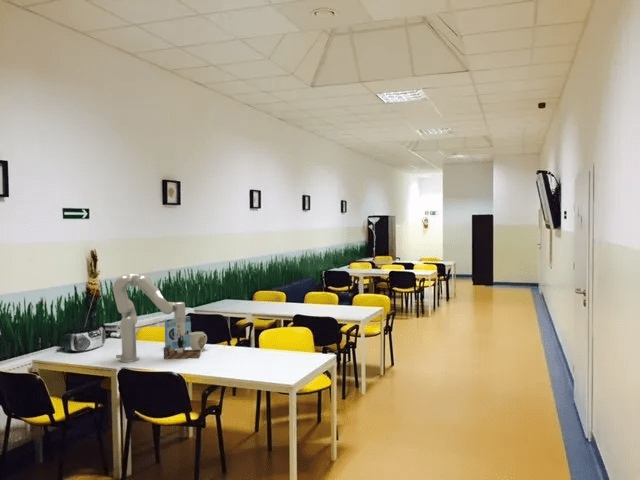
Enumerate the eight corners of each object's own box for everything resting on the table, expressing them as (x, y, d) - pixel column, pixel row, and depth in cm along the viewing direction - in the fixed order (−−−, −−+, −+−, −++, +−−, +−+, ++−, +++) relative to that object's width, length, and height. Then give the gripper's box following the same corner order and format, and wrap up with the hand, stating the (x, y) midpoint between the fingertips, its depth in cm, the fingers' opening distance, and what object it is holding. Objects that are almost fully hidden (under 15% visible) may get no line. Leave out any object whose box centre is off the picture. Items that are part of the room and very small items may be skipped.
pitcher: (212, 348, 415) (211, 330, 415) (195, 353, 400) (194, 334, 400) (201, 347, 421) (201, 329, 421) (184, 352, 406) (183, 333, 405)
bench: (163, 359, 385) (163, 348, 384) (167, 356, 395) (166, 344, 394) (198, 358, 386) (198, 347, 386) (200, 354, 396) (200, 343, 396)
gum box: (167, 350, 413) (166, 320, 412) (164, 349, 417) (164, 319, 416) (191, 346, 425) (190, 316, 424) (189, 345, 429) (188, 316, 428)
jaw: (177, 355, 386) (176, 336, 386) (179, 352, 393) (178, 334, 393) (182, 355, 387) (182, 336, 386) (184, 352, 394) (184, 334, 393)
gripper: (183, 321, 381) (183, 347, 382) (187, 317, 398) (188, 342, 398) (172, 321, 381) (172, 348, 381) (177, 317, 397) (177, 342, 398)
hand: (180, 345), depth 390 cm, fingers closed on jaw, 3 cm apart
